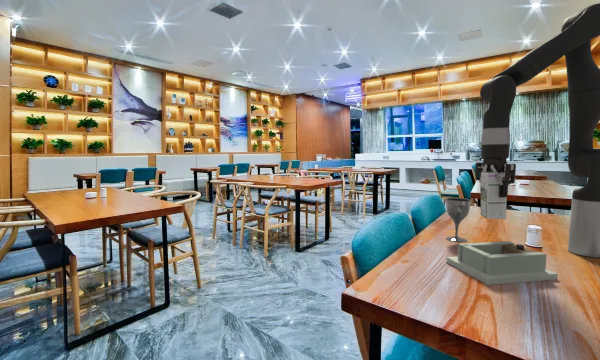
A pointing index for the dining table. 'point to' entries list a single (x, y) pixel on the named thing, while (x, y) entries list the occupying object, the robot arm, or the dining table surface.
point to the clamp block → (515, 249)
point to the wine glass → (457, 214)
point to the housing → (500, 264)
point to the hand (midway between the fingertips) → (493, 195)
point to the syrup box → (492, 197)
